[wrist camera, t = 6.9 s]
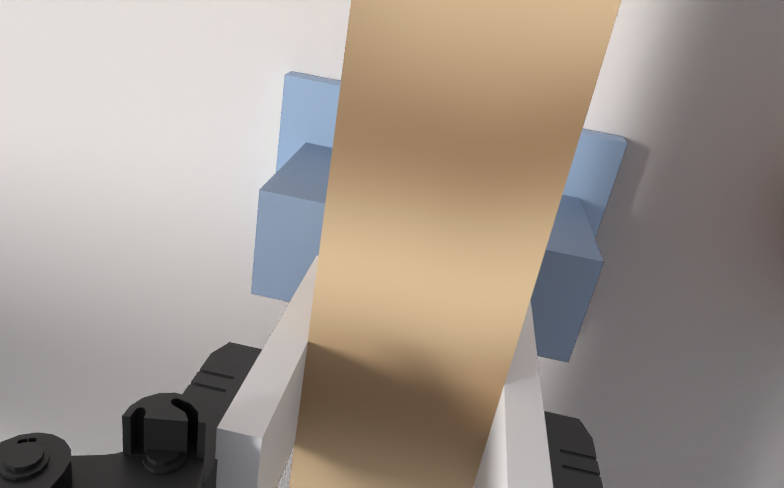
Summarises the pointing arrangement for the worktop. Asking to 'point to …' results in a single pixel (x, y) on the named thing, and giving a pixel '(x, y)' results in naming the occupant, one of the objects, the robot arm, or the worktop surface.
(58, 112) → the worktop surface
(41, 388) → the worktop surface
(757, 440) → the worktop surface
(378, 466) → the oak bar
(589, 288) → the fulcrum
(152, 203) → the worktop surface
